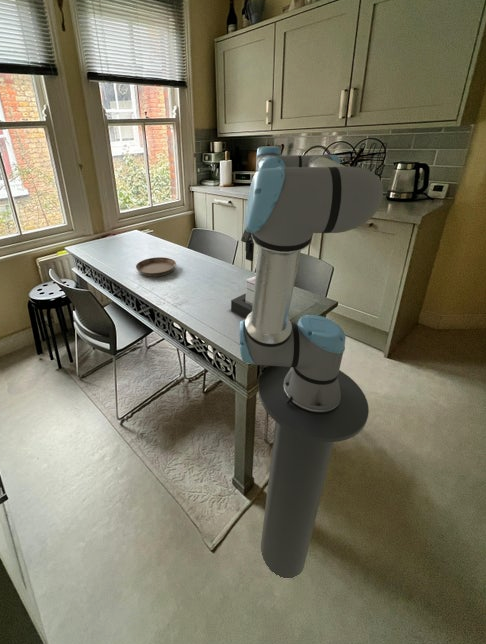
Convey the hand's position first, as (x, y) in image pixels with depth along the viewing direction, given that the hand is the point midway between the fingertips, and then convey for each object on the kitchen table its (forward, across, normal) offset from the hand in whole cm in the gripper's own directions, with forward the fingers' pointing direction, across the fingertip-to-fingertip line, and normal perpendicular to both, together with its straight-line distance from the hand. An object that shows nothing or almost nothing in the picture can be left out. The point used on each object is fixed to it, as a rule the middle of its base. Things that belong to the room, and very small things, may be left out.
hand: (261, 255), depth 114 cm
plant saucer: (+24, +7, -61) cm, 66 cm away
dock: (+24, 0, -1) cm, 24 cm away
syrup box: (+24, +1, -1) cm, 24 cm away
